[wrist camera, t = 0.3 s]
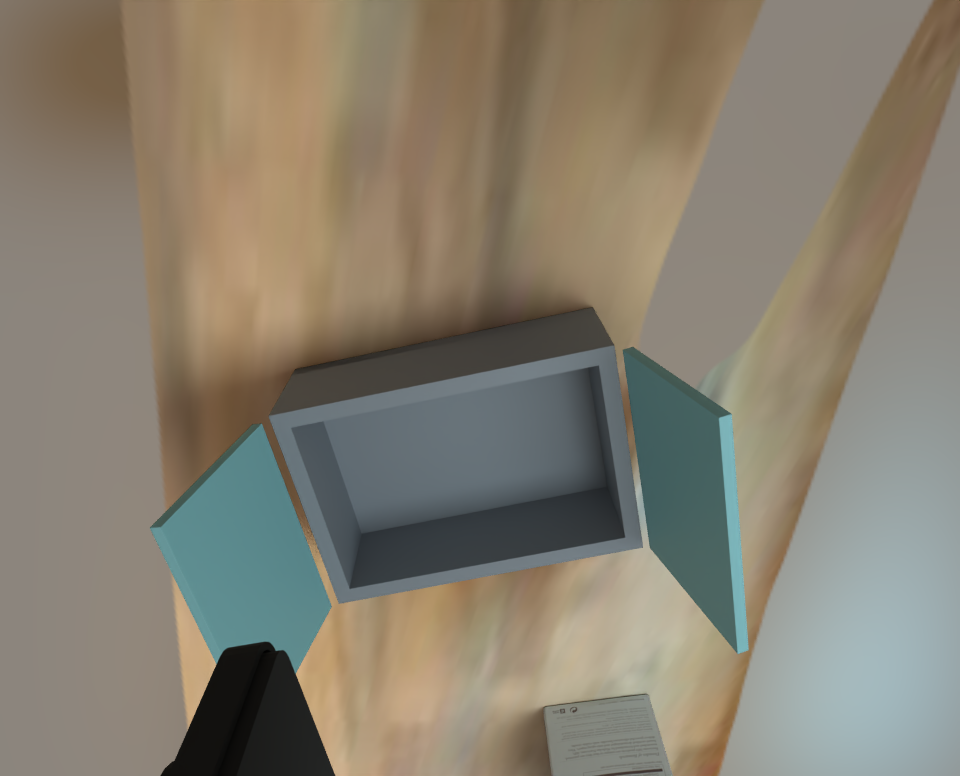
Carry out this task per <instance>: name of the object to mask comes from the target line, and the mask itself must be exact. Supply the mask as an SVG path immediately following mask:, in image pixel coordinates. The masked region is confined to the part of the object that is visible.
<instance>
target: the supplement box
mask: <svg viewBox="0 0 960 776" xmlns="http://www.w3.org/2000/svg"><path fill="white" fill-rule="evenodd" d="M544 722H545V729H546V736H547V744H548V752H549V760H550V768H551V775H552V776H673V775H672V771H671V768H670V765H669V762H668V758H667V755H666V751H665V748H664V745H663V741H662V738H661V735H660V731H659V728H658V725H657V721H656V718H655V715H654V712H653V708H652V705H651V702H650V698H649V695H647V694H646V695H637V696H629V697H621V698H612V699H604V700H596V701H588V702H580V703H572V704H564V705H556V706H548V707H544Z"/></svg>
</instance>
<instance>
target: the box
mask: <svg viewBox="0 0 960 776" xmlns="http://www.w3.org/2000/svg"><path fill="white" fill-rule="evenodd" d="M269 419H270V421H271V424H272V427H273V429H274V432H275V435H276V437H277V440H278V443H279V445H280V448H281V451H282V453H283V456H284V459H285V461H286V464H287V467H288V469H289V472H290V475H291V477H292V480H293V482H294V485H295V488H296V490H297V493H298V496H299V498H300V501H301V504H302V506H303V509H304V512H305V514H306V517H307V520H308V522H309V525H310V528H311V530H312V533H313V536H314V538H315V541H316V544H317V546H318V549H319V552H320V554H321V557H322V560H323V562H324V565H325V568H326V570H327V573H328V576H329V578H330V581H331V584H332V586H333V589H334V592H335V594H336V597H337V600H338V602H339V604H340V603H345V602H351V601H356V600H362V599H367V598H372V597H378V596H383V595H389V594H394V593H399V592H405V591H410V590H416V589H421V588H426V587H432V586H437V585H443V584H448V583H453V582H459V581H464V580H470V579H475V578H480V577H486V576H491V575H497V574H502V573H507V572H513V571H518V570H524V569H529V568H535V567H540V566H545V565H551V564H556V563H562V562H567V561H572V560H578V559H583V558H589V557H594V556H599V555H605V554H610V553H616V552H621V551H626V550H632V549H637V548H643V544H642V537H641V530H640V523H639V516H638V509H637V502H636V495H635V488H634V481H633V474H632V467H631V460H630V452H629V445H628V438H627V431H626V424H625V417H624V410H623V403H622V396H621V389H620V382H619V375H618V368H617V361H616V354H615V347H614V344H613V342H612V340H611V339H610V337H609V335H608V333H607V332H606V330H605V328H604V326H603V324H602V323H601V321H600V319H599V317H598V316H597V314H596V312H595V310H594V309H593V307H592V308H587V309H583V310H578V311H573V312H568V313H563V314H559V315H554V316H549V317H544V318H539V319H535V320H530V321H525V322H520V323H515V324H511V325H506V326H501V327H496V328H491V329H487V330H482V331H477V332H472V333H467V334H463V335H458V336H453V337H448V338H443V339H439V340H434V341H429V342H424V343H419V344H415V345H410V346H405V347H400V348H395V349H391V350H386V351H381V352H376V353H371V354H367V355H362V356H357V357H352V358H347V359H343V360H338V361H333V362H328V363H323V364H319V365H314V366H309V367H304V368H299V369H295V371H294V373H293V374H292V376H291V378H290V379H289V381H288V383H287V385H286V386H285V388H284V390H283V392H282V393H281V395H280V397H279V399H278V400H277V402H276V404H275V406H274V407H273V409H272V411H271V413H270V414H269Z"/></svg>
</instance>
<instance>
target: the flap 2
mask: <svg viewBox="0 0 960 776" xmlns="http://www.w3.org/2000/svg"><path fill="white" fill-rule="evenodd" d="M623 355H624V362H625V370H626V377H627V384H628V392H629V399H630V406H631V413H632V421H633V428H634V435H635V443H636V450H637V457H638V464H639V472H640V479H641V486H642V494H643V501H644V508H645V515H646V523H647V530H648V537H649V545H650V548H651V550H652V551H653V552H654V553H655V554H656V556H657V557H658V558H659V559H660V560H661V562H662V563H663V564H664V565H665V567H666V568H667V569H668V570H669V571H670V573H671V574H672V575H673V576H674V577H675V579H676V580H677V581H678V582H679V583H680V585H681V586H682V587H683V588H684V589H685V591H686V592H687V593H688V594H689V596H690V597H691V598H692V599H693V600H694V602H695V603H696V604H697V605H698V606H699V608H700V609H701V610H702V611H703V612H704V614H705V615H706V616H707V617H708V619H709V620H710V621H711V622H712V623H713V625H714V626H715V627H716V628H717V629H718V631H719V632H720V633H721V634H722V635H723V637H724V638H725V639H726V640H727V642H728V643H729V644H730V645H731V646H732V648H733V649H734V650H735V651H736V652H737V654H739V653H742V652H744V651H747V650H748V637H747V623H746V609H745V595H744V581H743V567H742V553H741V539H740V525H739V511H738V497H737V483H736V469H735V455H734V441H733V427H732V414H731V413H729V412H728V411H726V410H725V409H723V408H722V407H721V406H719V405H718V404H716V403H715V402H713V401H712V400H710V399H709V398H707V397H706V396H704V395H703V394H701V393H700V392H698V391H697V390H696V389H694V388H693V387H691V386H690V385H688V384H687V383H685V382H684V381H682V380H681V379H679V378H678V377H676V376H675V375H673V374H672V373H670V372H669V371H667V370H666V369H665V368H663V367H662V366H660V365H659V364H657V363H656V362H654V361H653V360H651V359H650V358H648V357H647V356H645V355H644V354H643V353H641V352H640V351H638V350H637V349H635V348H634V347H631V348H627V349H624V350H623Z"/></svg>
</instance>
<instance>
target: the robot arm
mask: <svg viewBox="0 0 960 776" xmlns="http://www.w3.org/2000/svg"><path fill="white" fill-rule="evenodd" d="M161 776H335V774H334V771H333V769H332V766H331V764H330V761H329V759H328V756H327V754H326V751H325V748H324V746H323V743H322V741H321V738H320V736H319V733H318V730H317V728H316V725H315V723H314V720H313V718H312V715H311V712H310V710H309V707H308V705H307V702H306V700H305V697H304V694H303V692H302V689H301V687H300V684H299V682H298V679H297V676H296V674H295V671H294V669H293V666H292V664H291V661H290V658H289V656H288V654H287V653H286V652H285V651H284V650H279V651H276V650H275V648H274V646H273V645H272V644H271V643H270V642H259V643H253V644H247V645H241V646H235V647H229V648H227V649H225V650H224V651H223V652H222V654H221V656H220V658H219V660H218V662H217V665H216V667H215V669H214V671H213V674H212V676H211V678H210V681H209V683H208V685H207V688H206V690H205V692H204V694H203V697H202V699H201V701H200V704H199V706H198V708H197V710H196V713H195V715H194V717H193V720H192V722H191V724H190V727H189V729H188V731H187V733H186V736H185V738H184V741H183V743H182V745H181V747H180V749H179V752H178V754H177V756H176V759H175V761H173V762H172V763H170V764H169V765H168V766H167V767H166V768H165V769H164V771H163V772H162V774H161Z"/></svg>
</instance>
